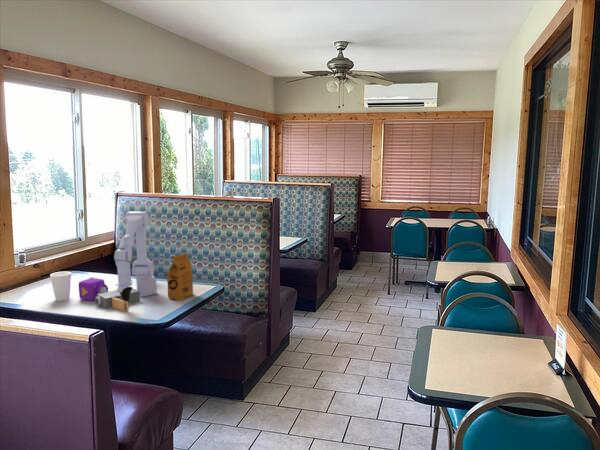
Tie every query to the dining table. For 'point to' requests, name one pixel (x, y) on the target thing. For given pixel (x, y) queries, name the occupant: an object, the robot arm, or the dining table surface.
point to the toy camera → (91, 288)
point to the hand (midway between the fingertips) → (126, 302)
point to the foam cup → (61, 285)
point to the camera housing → (106, 297)
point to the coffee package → (180, 278)
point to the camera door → (120, 304)
